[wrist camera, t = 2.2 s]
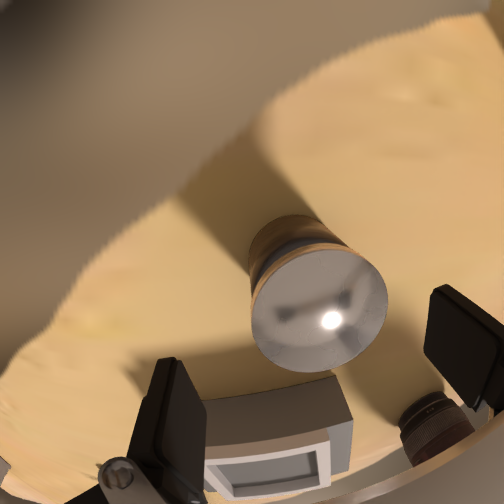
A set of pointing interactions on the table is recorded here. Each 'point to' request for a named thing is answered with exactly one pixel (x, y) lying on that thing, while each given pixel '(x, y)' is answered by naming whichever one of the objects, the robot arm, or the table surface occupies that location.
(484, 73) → the table surface
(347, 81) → the table surface
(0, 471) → the tall grey upright pillar
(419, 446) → the camera lens
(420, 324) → the table surface
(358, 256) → the ringed metal cylinder
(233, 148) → the table surface
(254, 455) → the camera body block
